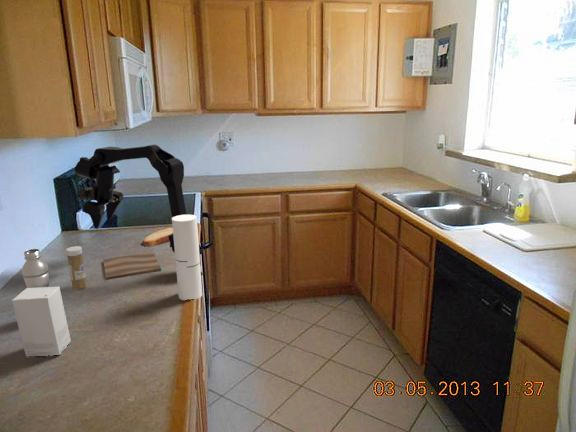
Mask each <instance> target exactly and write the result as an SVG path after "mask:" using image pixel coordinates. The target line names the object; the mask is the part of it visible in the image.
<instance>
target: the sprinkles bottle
mask: <svg viewBox="0 0 576 432" xmlns="http://www.w3.org/2000/svg"><path fill="white" fill-rule="evenodd" d="M65 253H66V257H67V261H68V262H67V263H68V270H69V275H70V280H71V288H72V289H73V290H76V291H77V290H83V289H85V288H86V287H88V282H87V275H86V269H85V268H86V267H85V264H84V257H83V248H82V246H77V245H76V246H71V247H68V248H66V249H65Z"/></svg>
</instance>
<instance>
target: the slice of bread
mask: <svg viewBox="0 0 576 432" xmlns="http://www.w3.org/2000/svg"><path fill="white" fill-rule="evenodd" d="M172 233H173V227H167V228H164V229H160V230H157V231H154V232H152V233H151V234H150V235H147V236H146V237H145V238H144V239H143V240H142V246H144V247H146V248H147V247H148V248H151V247H154V246H159V245H162V244H166V243H168V242H169V243H170V241H169V235H171V234H172Z"/></svg>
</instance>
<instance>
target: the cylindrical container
mask: <svg viewBox="0 0 576 432" xmlns="http://www.w3.org/2000/svg"><path fill="white" fill-rule="evenodd" d="M171 224H172V225H171V226H172V228H173V238H174V249H175V253H174V259H175V260H174V261H175V269H176V281H177V292H178V293H177V294H178V299H179V300H181V301H185V300H187V299H194V300H193V301H195V300H198V299H200V298H201V297H202V296H203V287H202V276H201V272H202V271H201V258H200V255H199V245H200V244H199V243H200V242H199V231H198V218H197V215H195V214H186V215H178V216H175V217H173V218H172V217H171Z"/></svg>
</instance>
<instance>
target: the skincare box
mask: <svg viewBox="0 0 576 432" xmlns="http://www.w3.org/2000/svg"><path fill="white" fill-rule="evenodd" d="M63 302H64V301H63V298H62V293H61V288H60V286H50V287H39V288H27V287H26V288H25V289H23V291H21V292H20V293H19V294H18V295H16V296H15V297H13V299H11V303H12V307H13V310H14V315H15V318H16V319H15V320H16V322H17V326H18V329H19V334H20V338H21V342H22V346H23V347H22V348H23V351H24V354H25V357H26V356H46V357H49V356H48V355H59V354H61V355H62V353H63V352H64V351H65V350H66V348H67V347H68V346H69V345H70V344H71V341H72V340H71V335H70V330H69V326H68V321H67V317H66V311H65V308H64V307H65V306H64V303H63ZM68 344H69V345H68ZM67 345H68V346H67ZM64 349H65V350H64ZM63 350H64V351H63ZM62 351H63V352H62ZM61 352H62V353H61Z"/></svg>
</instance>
